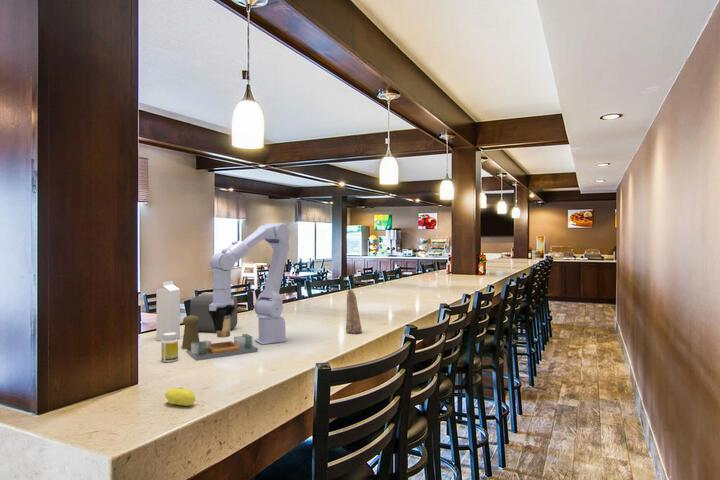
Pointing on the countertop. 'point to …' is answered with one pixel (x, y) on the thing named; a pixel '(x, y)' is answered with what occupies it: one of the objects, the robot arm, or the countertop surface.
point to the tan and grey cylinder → (225, 327)
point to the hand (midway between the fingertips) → (222, 329)
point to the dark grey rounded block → (200, 309)
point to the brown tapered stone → (352, 315)
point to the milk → (168, 310)
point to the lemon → (180, 396)
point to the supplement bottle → (169, 347)
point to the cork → (190, 331)
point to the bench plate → (222, 348)
